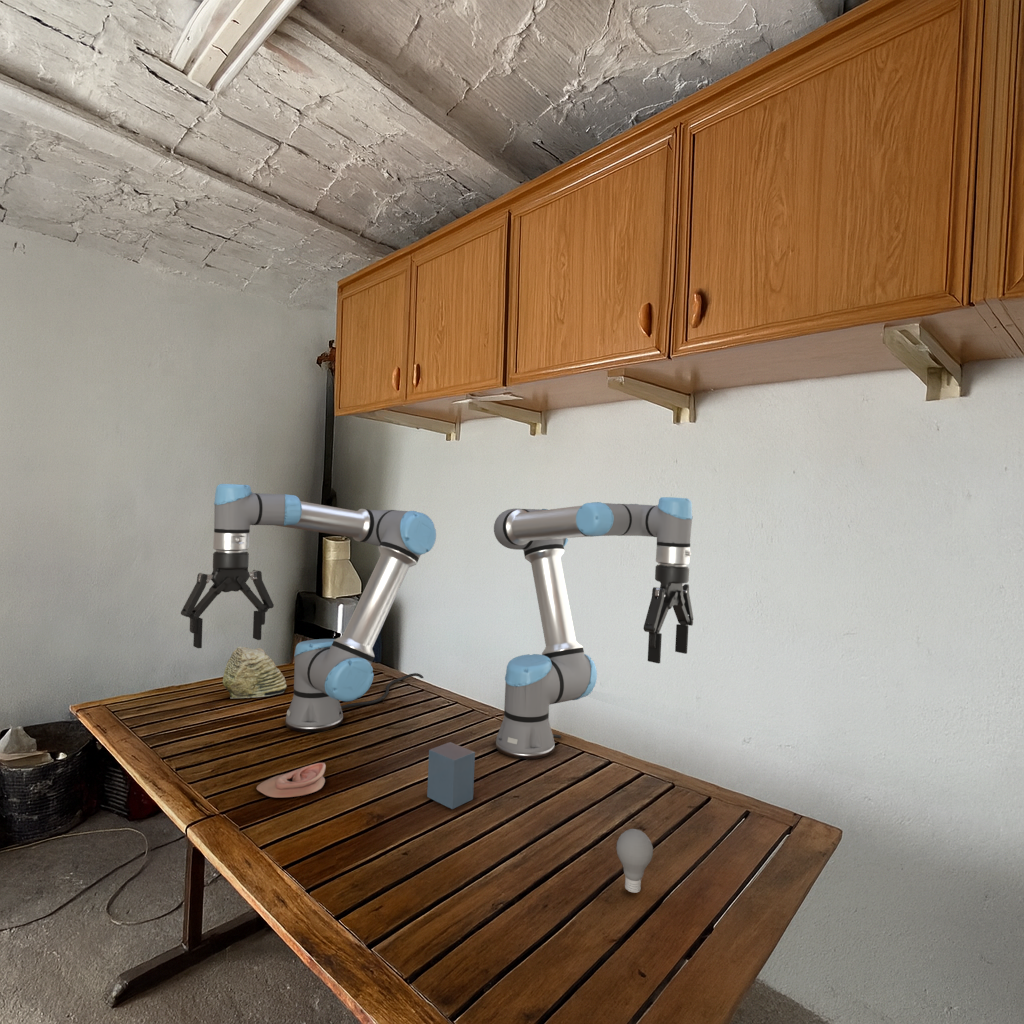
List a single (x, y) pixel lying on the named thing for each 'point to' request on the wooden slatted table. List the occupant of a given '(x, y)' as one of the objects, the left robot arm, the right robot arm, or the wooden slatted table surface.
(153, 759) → the wooden slatted table surface
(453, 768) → the brick
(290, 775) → the anatomical model
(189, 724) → the wooden slatted table surface
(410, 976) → the wooden slatted table surface
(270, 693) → the fossil
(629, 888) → the light bulb
